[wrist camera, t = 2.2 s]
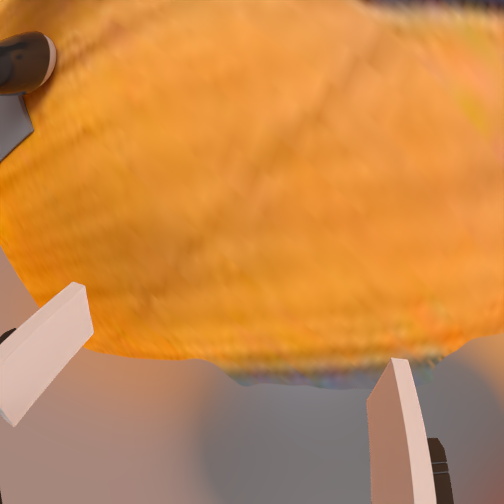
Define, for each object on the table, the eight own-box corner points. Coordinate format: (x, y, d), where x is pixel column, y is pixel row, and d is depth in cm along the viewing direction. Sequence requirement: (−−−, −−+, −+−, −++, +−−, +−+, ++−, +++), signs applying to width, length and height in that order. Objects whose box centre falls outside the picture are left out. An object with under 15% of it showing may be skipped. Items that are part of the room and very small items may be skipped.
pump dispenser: (62, 91, 35) (-15, 114, 22) (23, 89, 35) (-47, 111, 22) (72, 28, 29) (-7, 32, 16) (30, 33, 29) (-42, 42, 16)
